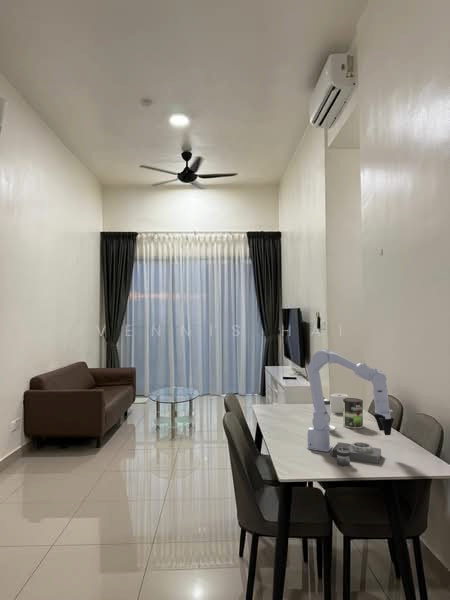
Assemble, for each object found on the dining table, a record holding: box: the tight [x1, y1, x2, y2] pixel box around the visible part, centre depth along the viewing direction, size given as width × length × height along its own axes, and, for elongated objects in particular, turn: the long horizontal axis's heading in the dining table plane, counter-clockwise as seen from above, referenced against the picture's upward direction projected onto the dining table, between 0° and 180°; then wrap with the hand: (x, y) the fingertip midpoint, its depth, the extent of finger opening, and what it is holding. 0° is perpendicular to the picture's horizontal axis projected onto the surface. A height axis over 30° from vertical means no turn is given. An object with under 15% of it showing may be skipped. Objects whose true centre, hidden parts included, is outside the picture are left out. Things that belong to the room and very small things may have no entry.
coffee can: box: [342, 397, 364, 430], centre depth 227 cm, size 10×10×14 cm
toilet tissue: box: [330, 393, 349, 414], centre depth 260 cm, size 11×12×10 cm
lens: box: [336, 447, 351, 467], centre depth 170 cm, size 5×5×6 cm
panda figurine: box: [323, 396, 336, 431], centre depth 224 cm, size 12×11×15 cm
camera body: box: [331, 441, 382, 465], centre depth 179 cm, size 18×11×5 cm, turn 62°
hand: (384, 432), depth 178 cm, fingers open, 7 cm apart
